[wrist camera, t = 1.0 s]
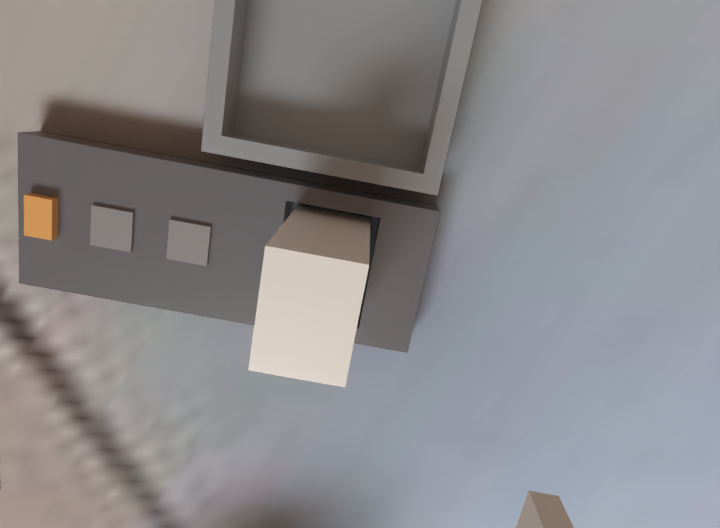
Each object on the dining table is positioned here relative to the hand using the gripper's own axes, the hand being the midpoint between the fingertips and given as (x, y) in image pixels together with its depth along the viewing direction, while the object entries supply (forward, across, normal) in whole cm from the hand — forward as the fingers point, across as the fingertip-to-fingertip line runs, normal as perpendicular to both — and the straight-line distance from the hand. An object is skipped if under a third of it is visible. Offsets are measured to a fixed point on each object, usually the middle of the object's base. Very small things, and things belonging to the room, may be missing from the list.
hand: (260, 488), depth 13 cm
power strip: (+20, -6, 0) cm, 21 cm away
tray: (+20, -1, +12) cm, 24 cm away
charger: (+20, 0, 0) cm, 21 cm away
